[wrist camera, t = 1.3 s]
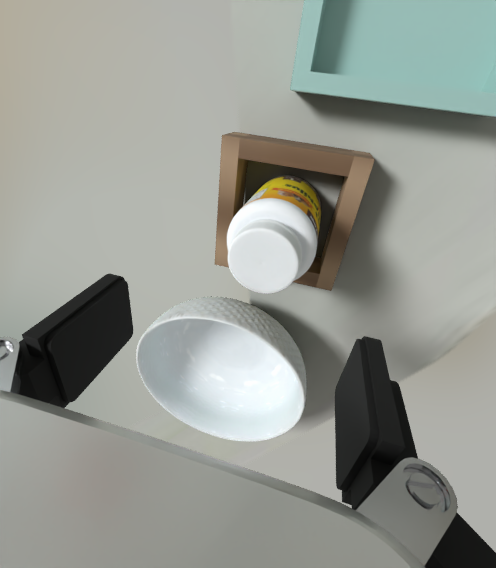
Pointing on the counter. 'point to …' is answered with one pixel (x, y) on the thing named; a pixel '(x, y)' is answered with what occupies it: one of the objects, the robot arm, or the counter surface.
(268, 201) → the supplement bottle
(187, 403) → the cereal bowl
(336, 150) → the socket block
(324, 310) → the counter surface
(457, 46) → the tray
